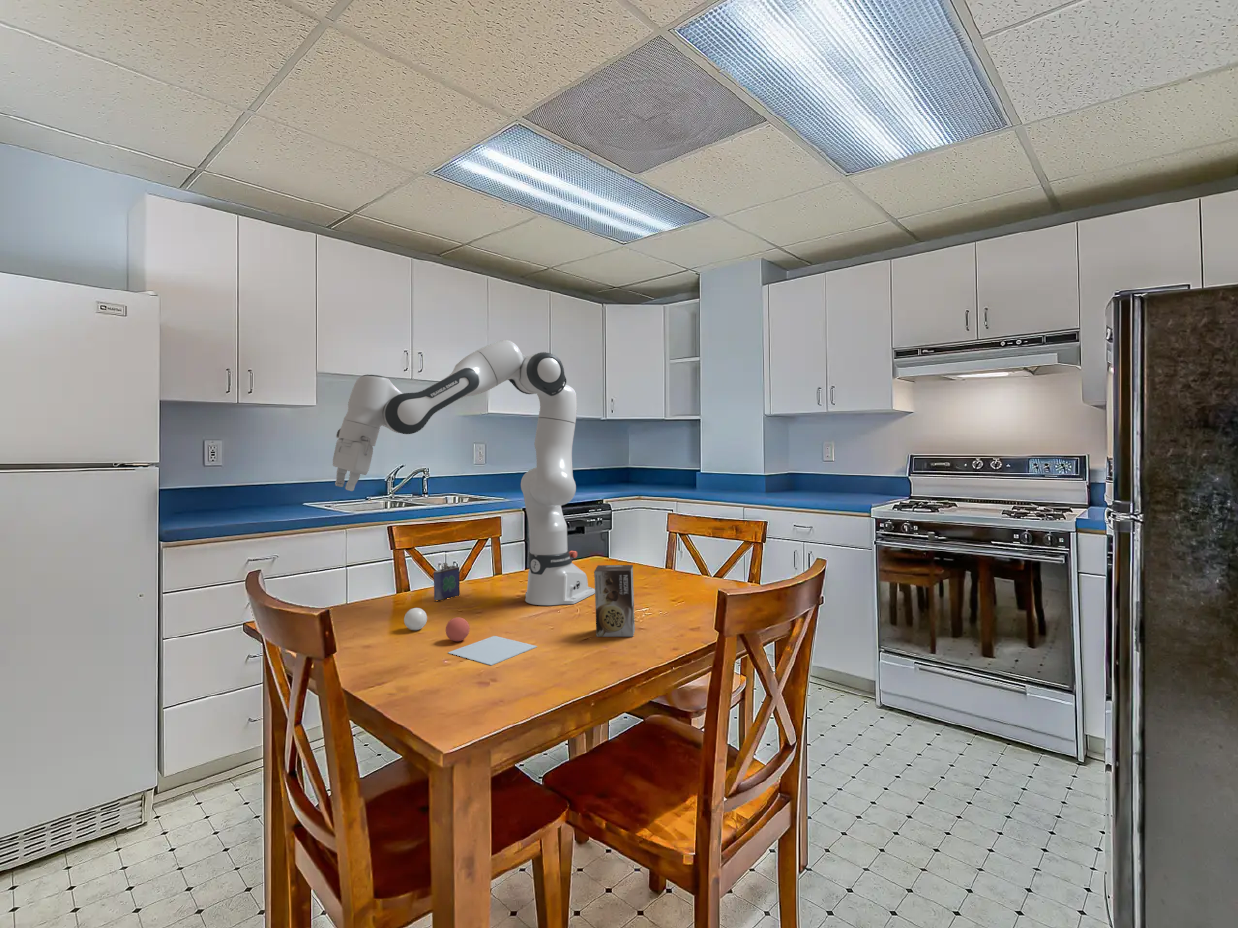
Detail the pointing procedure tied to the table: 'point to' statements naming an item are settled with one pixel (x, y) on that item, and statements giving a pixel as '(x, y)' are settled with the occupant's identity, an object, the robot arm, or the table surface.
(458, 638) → the object ball
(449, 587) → the flask
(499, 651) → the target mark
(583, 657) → the table surface
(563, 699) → the table surface
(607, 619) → the coffee box
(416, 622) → the cue ball
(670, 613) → the table surface
